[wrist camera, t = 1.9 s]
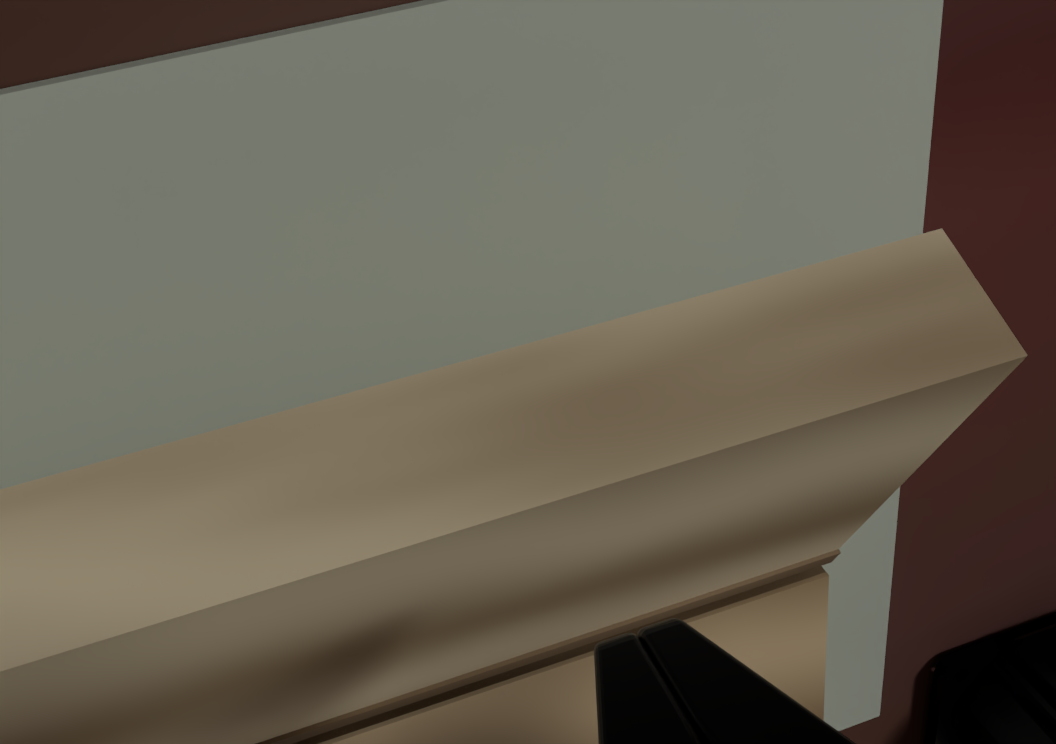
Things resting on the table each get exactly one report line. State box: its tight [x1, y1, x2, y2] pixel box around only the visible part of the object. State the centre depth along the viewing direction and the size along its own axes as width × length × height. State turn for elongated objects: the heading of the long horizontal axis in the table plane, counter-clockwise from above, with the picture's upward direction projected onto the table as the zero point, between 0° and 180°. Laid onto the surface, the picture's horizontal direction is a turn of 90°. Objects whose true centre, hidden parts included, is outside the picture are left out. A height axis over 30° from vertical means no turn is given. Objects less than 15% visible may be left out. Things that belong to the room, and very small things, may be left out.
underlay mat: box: [0, 0, 943, 731], centre depth 17 cm, size 20×30×1 cm, turn 99°
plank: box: [0, 229, 1028, 744], centre depth 13 cm, size 8×24×2 cm
